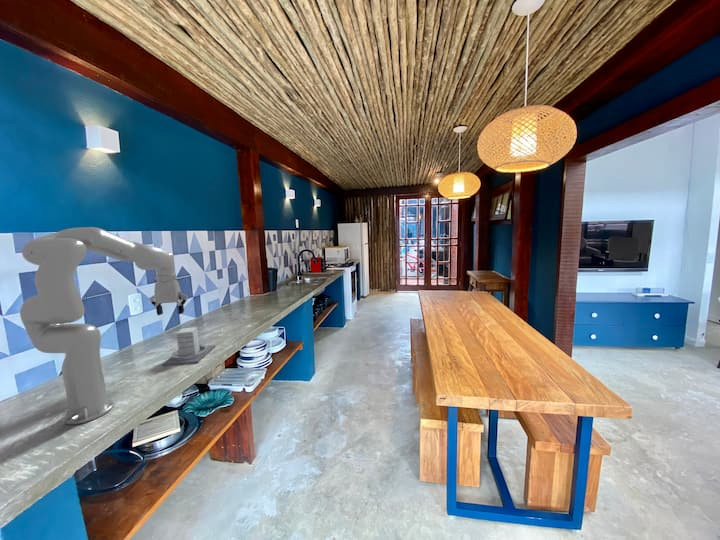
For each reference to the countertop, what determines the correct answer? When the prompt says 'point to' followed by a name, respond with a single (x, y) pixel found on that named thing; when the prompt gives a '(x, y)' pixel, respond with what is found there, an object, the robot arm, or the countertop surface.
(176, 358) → the steel ring
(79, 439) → the countertop surface
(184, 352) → the supplement box
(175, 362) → the slate board
